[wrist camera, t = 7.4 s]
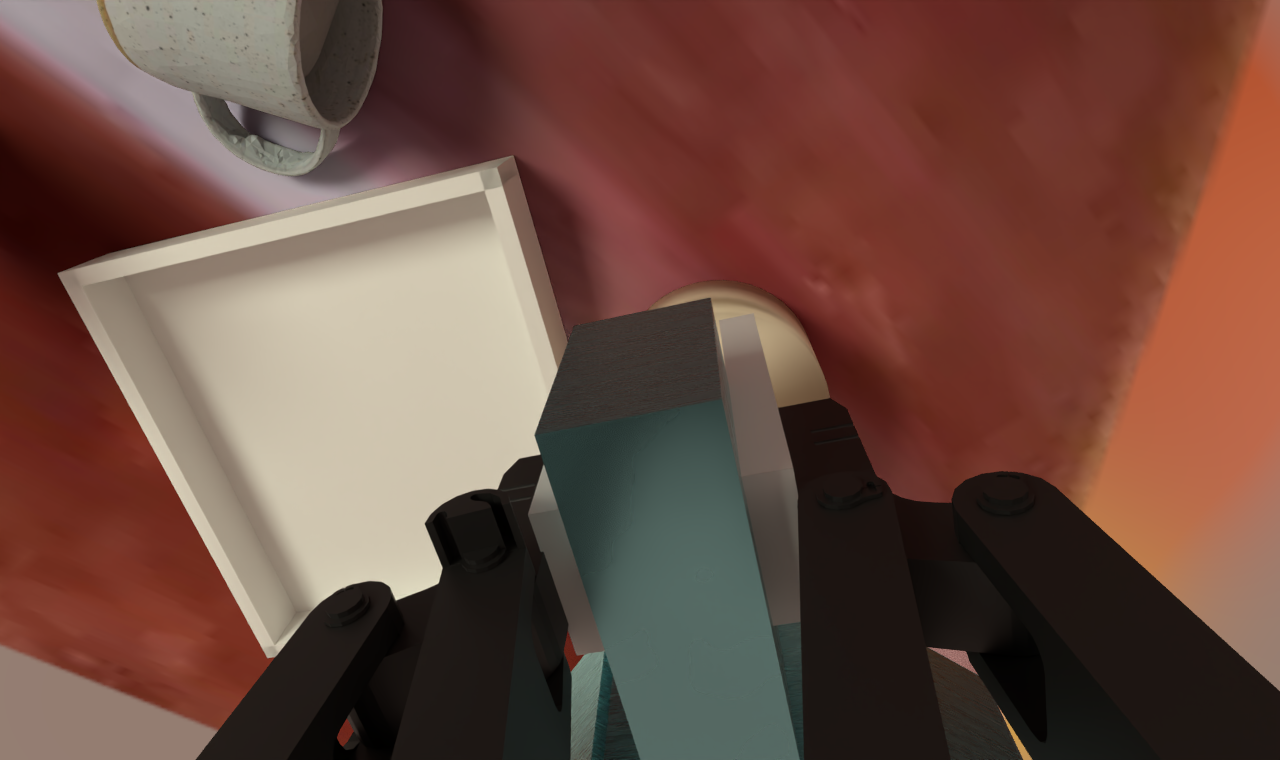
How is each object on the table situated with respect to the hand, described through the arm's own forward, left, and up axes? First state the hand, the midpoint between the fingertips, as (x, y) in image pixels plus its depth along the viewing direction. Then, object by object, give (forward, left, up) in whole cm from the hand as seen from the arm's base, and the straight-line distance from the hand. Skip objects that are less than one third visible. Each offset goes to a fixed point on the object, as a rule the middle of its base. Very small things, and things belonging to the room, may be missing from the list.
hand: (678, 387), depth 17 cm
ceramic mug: (-10, -15, -21) cm, 28 cm away
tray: (+8, -17, -20) cm, 28 cm away
